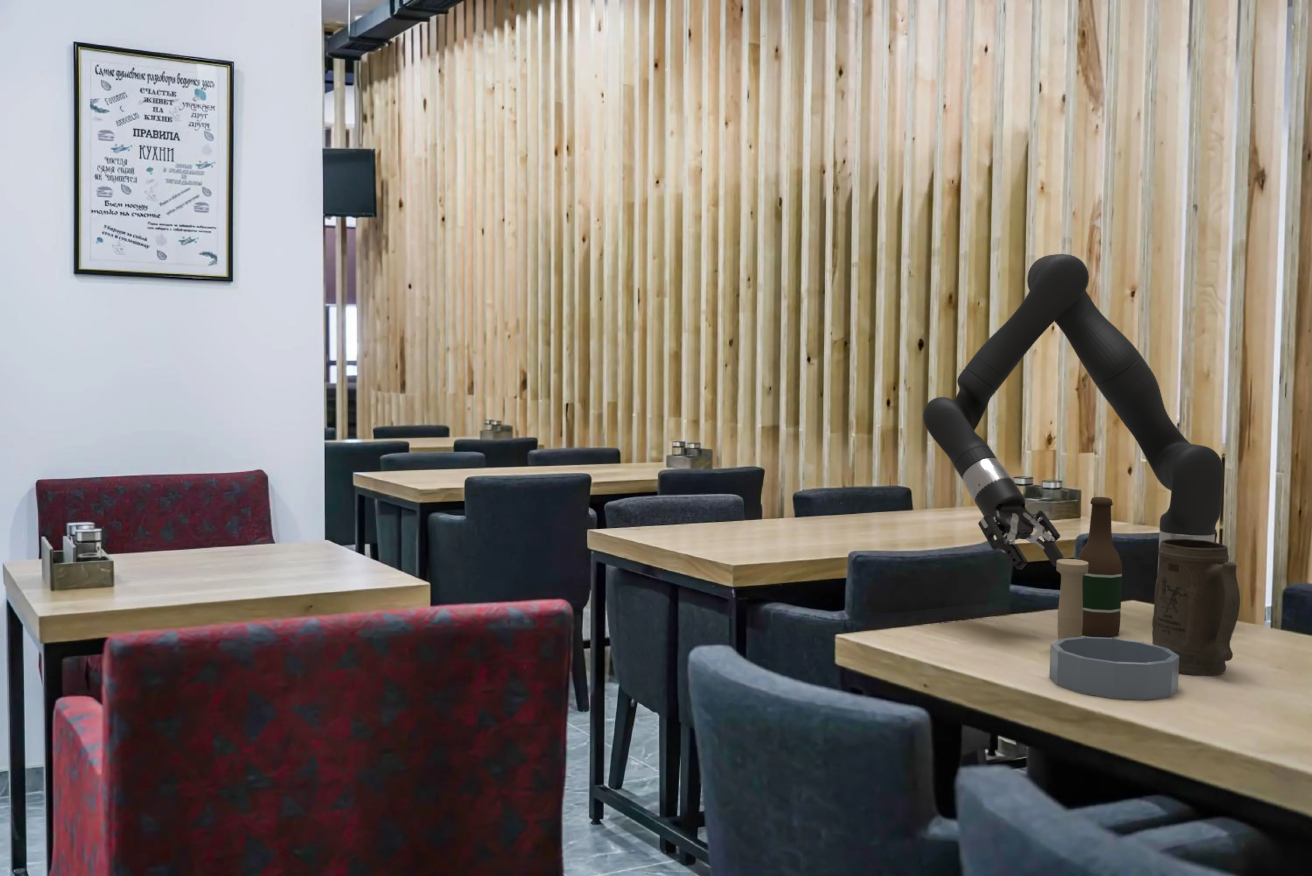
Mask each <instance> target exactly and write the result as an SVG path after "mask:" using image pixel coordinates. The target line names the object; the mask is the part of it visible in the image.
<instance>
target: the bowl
mask: <svg viewBox="0 0 1312 876" xmlns="http://www.w3.org/2000/svg"><path fill="white" fill-rule="evenodd" d="M1179 675H1180V673H1179V655H1177V654H1176V653H1174V652H1173V651H1171V650H1170V649H1168V648H1164V647H1160V646H1157V645H1153V643H1150V642H1149V643H1148V642H1145V641H1139V640H1138V641H1137V640H1132V639H1124V638H1116V637H1111V638H1105V637H1089V636H1082V637H1074V638H1064V639H1059V640H1058V639H1057V640H1056V641H1054V642H1053V643H1050V656H1049V679H1051V680H1052V681H1053V683H1054V684H1055V685H1057V686H1058V687H1062V688H1064V689H1068V690H1070V691H1073V692H1076V693H1080V694H1082V695H1083V694H1084V695H1088V696H1090V695H1091V696H1094V697H1095V696H1097V697H1101V698H1106V699H1107V698H1108V699H1114V700H1115V699H1116V700H1135V701H1136V700H1138V701H1142V700H1143V701H1150V700H1158V699H1164V698H1171V697H1173V696H1174V694H1176V693H1177V692H1178V691H1179Z"/></svg>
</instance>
